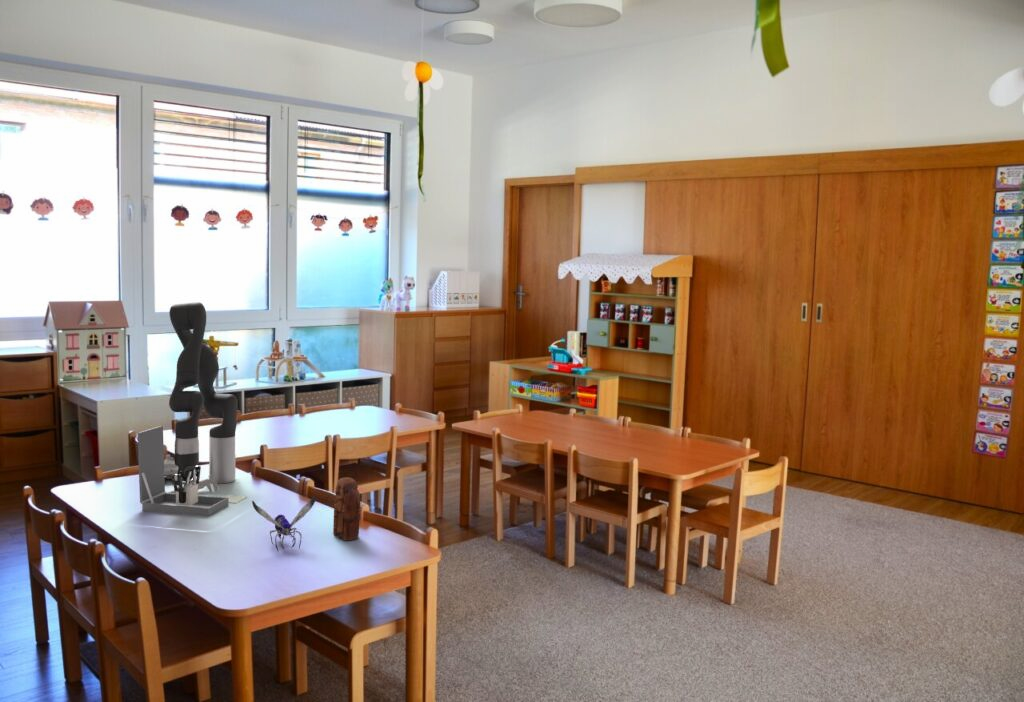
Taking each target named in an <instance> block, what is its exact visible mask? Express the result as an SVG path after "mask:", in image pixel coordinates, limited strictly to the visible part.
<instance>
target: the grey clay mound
mask: <svg viewBox="0 0 1024 702" xmlns="http://www.w3.org/2000/svg"><path fill="white" fill-rule="evenodd" d="M178 468H179V467H178V466H176V465H175V457H173V456H171V454H166V455H165V458H164V476H165V479H166V480H172V481H173V478H172V476H173V474H174V475H176V474H177V473H178Z"/></svg>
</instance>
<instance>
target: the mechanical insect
mask: <svg viewBox="0 0 1024 702" xmlns="http://www.w3.org/2000/svg"><path fill="white" fill-rule="evenodd" d="M317 496H318V495H317V493H316V494H314V496H312V498H310V500H308V502H307V503H305V504H304V505H303V506H302V508H301V509H300V510H299V511H298V512H297V514H296V516H295V517H294V518H293V519H292V521H291V522H289V520H288V519H287V518H286V516H285V515H284V514H278V515H277V516H275V517H274V518H273V517H272V515H270V514H269V513H268V512H267V511H266V510H264V509H263V508H261V507H260V506H258V504H257V503H256V502H255V501H254V500H251V502H252V507H253V509H254V510H255V511H256V512H257V513H258V514H259V515H260V516H261V517H263V518H264V519H266V520H267V521H268V522H270V523H272V524H273V525H274V529H273V530H271V529H270V530H269V536H270V540H271V544H272V545H274V543H275V548H276V550H277V552H279V547H278V545H277V537H278V538H279V539H280V540H281V547H282V549H283V550H284V549H285V547H284V546H283V543H284V539H285V538H286V539H287V537H288V536H289V538H293V539H292V541H291V542H292V543H293V544H292V546H291V549H293V547H294V546H295V544H296V541H297V538H296V536H295V534H296V533H298V534H299V537H300V538H299V543H298V545H299V546H298V549H300V547H301V543H302V533H301V532H300V531H298V529H297V527H293V526H294V525H295V524H296V523H298V522H299V521H300V520H301V519H303V518H304V517H305V515H307V513H308V512H309V511H310V510H311V509H312V507H313V506H314V504H315V502H316V500H317ZM275 532H277V533H276V535H275V536H274V542H273V537H272V533H275Z"/></svg>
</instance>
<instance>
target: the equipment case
mask: <svg viewBox="0 0 1024 702" xmlns="http://www.w3.org/2000/svg"><path fill="white" fill-rule="evenodd" d="M164 450H165V449H164V426H163V425H159V426H156V427H153V428H149V429H145V430H142V431H140V432H137V452H138V453H137V455H138V458H137V459H138V478H139V480H138V481H139V483H138V485H139V503H140V504H141V506H142V507H141V508H142V509H141V511H142V512H151V513H152V512H153V513H162V514H163V513H165V514H174V515H187V516H200V517H210V516H212V515H214V514H216V513H217V512H219V511H221V510H223V509H225V508H226V507H229V503H228V498H224V497H223V496H210V495H199V494H198V502H196V503H195V504H193V505H191V506H186V505H176V494H175V493H167V491H166V485H165V484H166V483H165V482H166V481H165V479H166V477H165V476H164V460H165V456H164V455H165V451H164Z"/></svg>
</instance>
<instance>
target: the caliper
mask: <svg viewBox="0 0 1024 702" xmlns="http://www.w3.org/2000/svg"><path fill="white" fill-rule="evenodd" d="M212 484H213V485H212ZM211 485H212V486H213V488H214V491H215V492H216V491H217V490H218V483H217V481H216V477H214V476H213V474H212V475H211V477H210V476H209V475H208V478H205V479H203V480H199V484H198V491H199V490H201V489H204V488H207V489H208V491H209V492H210V493H211V492H213V491H212V486H211ZM166 493H175V494H176V491H174V489H173V490H170V491H166Z"/></svg>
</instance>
